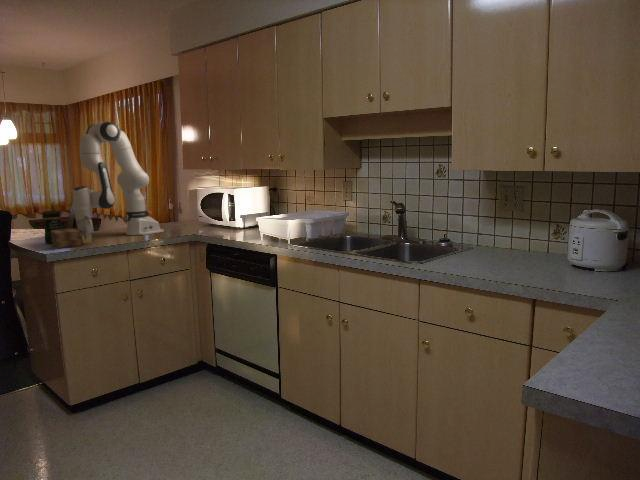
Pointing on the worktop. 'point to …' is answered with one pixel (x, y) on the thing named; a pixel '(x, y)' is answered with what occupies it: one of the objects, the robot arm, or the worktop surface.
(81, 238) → the token
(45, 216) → the coffee jar
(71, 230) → the tip box
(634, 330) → the worktop surface
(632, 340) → the worktop surface
